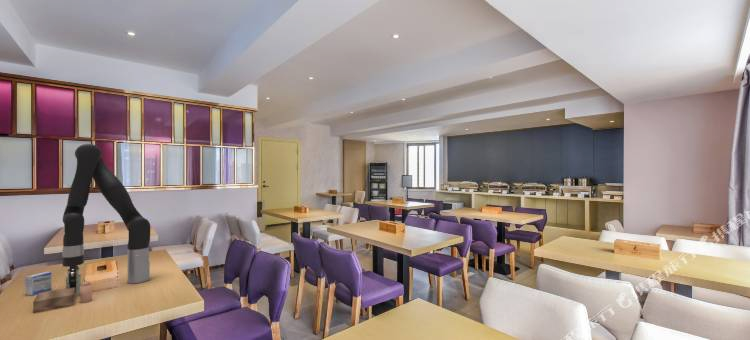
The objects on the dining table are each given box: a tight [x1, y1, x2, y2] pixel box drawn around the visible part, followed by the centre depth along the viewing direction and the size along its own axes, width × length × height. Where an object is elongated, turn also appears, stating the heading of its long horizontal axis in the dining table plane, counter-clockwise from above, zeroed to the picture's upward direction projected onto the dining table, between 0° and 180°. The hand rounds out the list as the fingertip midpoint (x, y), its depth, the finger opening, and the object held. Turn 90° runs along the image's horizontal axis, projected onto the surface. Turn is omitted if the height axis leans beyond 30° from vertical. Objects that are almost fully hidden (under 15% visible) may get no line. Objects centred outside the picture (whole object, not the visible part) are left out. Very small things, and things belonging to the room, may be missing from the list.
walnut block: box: [32, 287, 76, 314], centre depth 143 cm, size 12×12×5 cm
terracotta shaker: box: [79, 280, 93, 304], centre depth 147 cm, size 4×4×9 cm
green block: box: [65, 273, 82, 296], centre depth 155 cm, size 5×5×8 cm
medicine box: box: [24, 271, 52, 296], centre depth 157 cm, size 8×4×9 cm, turn 168°
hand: (73, 290), depth 155 cm, fingers closed on green block, 5 cm apart
